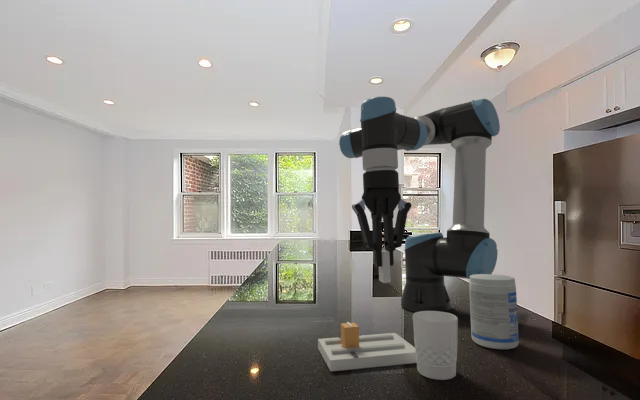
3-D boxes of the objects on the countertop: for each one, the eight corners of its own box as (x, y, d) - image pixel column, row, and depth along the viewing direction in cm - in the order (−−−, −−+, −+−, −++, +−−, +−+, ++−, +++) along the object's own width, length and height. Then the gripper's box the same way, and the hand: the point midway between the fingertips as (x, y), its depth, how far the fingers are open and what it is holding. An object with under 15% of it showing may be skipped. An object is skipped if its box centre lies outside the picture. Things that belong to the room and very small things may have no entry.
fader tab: (354, 341, 73) (354, 321, 74) (359, 346, 70) (358, 325, 71) (340, 343, 73) (340, 322, 73) (344, 348, 70) (344, 326, 70)
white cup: (408, 364, 67) (406, 311, 68) (447, 362, 68) (445, 310, 69) (423, 383, 59) (421, 323, 60) (468, 380, 60) (466, 321, 61)
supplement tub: (523, 353, 72) (520, 281, 73) (473, 348, 75) (471, 279, 76) (513, 338, 81) (510, 274, 82) (469, 334, 84) (466, 272, 85)
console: (395, 341, 80) (395, 330, 80) (420, 362, 68) (420, 348, 68) (318, 348, 76) (317, 336, 76) (330, 371, 64) (330, 356, 65)
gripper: (401, 172, 80) (405, 276, 79) (346, 173, 77) (350, 280, 77) (416, 168, 73) (421, 282, 72) (356, 168, 70) (361, 287, 69)
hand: (384, 281), depth 74 cm, fingers closed
